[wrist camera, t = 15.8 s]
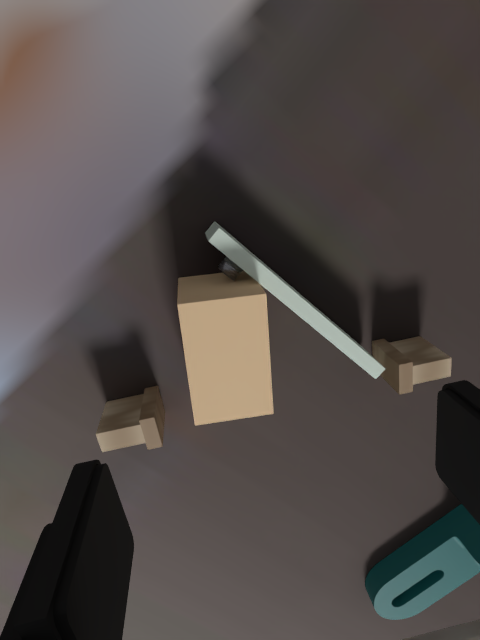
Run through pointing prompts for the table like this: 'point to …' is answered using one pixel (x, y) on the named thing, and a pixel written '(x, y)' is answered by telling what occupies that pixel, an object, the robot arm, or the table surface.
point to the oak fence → (148, 411)
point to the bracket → (426, 566)
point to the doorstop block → (225, 346)
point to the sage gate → (287, 296)
